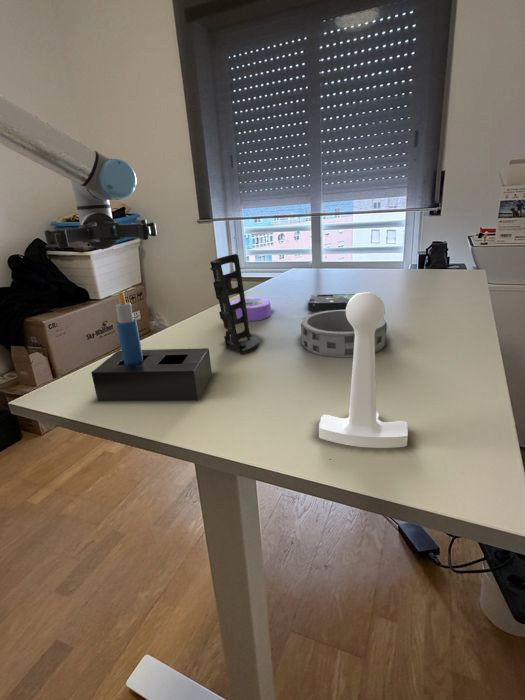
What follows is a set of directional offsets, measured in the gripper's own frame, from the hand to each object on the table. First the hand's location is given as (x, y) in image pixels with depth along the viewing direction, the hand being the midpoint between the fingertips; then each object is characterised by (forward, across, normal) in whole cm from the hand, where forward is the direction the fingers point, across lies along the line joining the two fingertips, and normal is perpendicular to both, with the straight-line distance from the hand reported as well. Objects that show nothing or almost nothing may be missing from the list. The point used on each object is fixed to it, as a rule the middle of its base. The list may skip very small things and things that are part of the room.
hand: (106, 235), depth 72 cm
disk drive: (-17, -59, -26) cm, 67 cm away
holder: (-2, -24, -26) cm, 36 cm away
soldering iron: (+10, 0, -27) cm, 28 cm away
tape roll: (-24, -36, -26) cm, 50 cm away
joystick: (+41, -26, -27) cm, 55 cm away
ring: (+8, -44, -26) cm, 52 cm away
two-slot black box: (+12, -3, -26) cm, 29 cm away
